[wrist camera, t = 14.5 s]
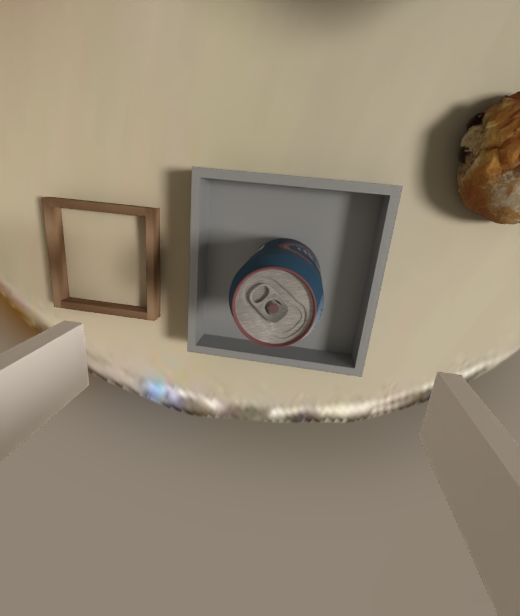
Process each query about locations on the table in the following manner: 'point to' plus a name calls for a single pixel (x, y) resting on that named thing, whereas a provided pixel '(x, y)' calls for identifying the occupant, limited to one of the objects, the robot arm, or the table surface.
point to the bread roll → (492, 162)
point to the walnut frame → (59, 261)
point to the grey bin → (306, 229)
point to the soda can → (278, 294)
